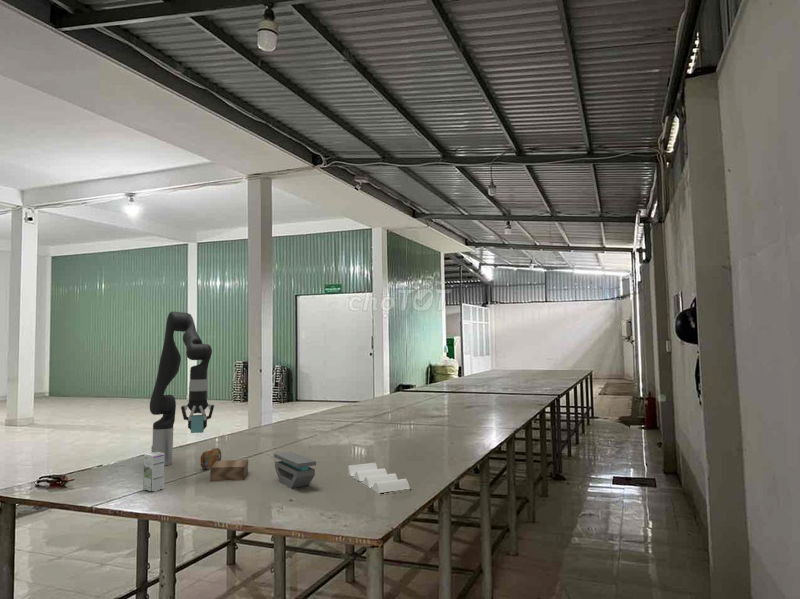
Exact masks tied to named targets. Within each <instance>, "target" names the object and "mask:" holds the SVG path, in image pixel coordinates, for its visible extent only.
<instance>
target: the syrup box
mask: <svg viewBox="0 0 800 599" xmlns="http://www.w3.org/2000/svg"><path fill="white" fill-rule="evenodd" d="M160 489H162V490H164V489H165V466H164V453H160V452H146V453H144V454H143V491H145V490H148V491H147V492H149V491H155V492H157V491H156V490H159V491H161V490H160Z"/></svg>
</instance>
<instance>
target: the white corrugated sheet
mask: <svg viewBox="0 0 800 599" xmlns="http://www.w3.org/2000/svg"><path fill="white" fill-rule="evenodd" d="M347 468H348V470H347V475H350V476H354V477H353V478H355V479H357V480H359V481H363V482H362V483H363V484H365V485H367V486H368V487H369V488H371V487H372V489H373V490H374V491H376V492H377V493H376V492H375V493H376V494H378V493H379V494H384V493H389V492H394V491H400V490H404V489H410V490H411V488H410V485H409V482H408V480H407V478H402V479H399V478H398V476H397V474H396V473H395V472H394V473H387V470H386V468H385V467H384V468H378V466H377V462H369V463H361V464H360V463H359V464H350V465H348V466H347ZM368 487H367V488H368ZM369 488H368V489H369ZM373 490H372V491H373ZM374 491H373V492H374ZM379 494H378V495H379Z"/></svg>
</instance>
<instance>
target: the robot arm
mask: <svg viewBox="0 0 800 599" xmlns="http://www.w3.org/2000/svg"><path fill="white" fill-rule="evenodd" d="M175 332H183V335H182V342H183V343H184V345H185V347H186V348H185V349H186V351H185V352H186V357H187V359H188V360H190V361H201V362H200V363H199V364H196V365H192V366H191V367H190V370H189V371H190V372H189V383H188V386H189V387H188V403H187V404H185V405H181V407H180V409H181V413H182V417H183V420H184V421H187V428H188V429H189V431H191V416H193V415H194V414H201V415H202V416H204V421H203V429H204V430H206V428H207V426H208V420H210V419H212V415H213V413H214V408H215V404H210V403H208V369H209V363H210V360H211V357H212V354H213V349H212V346H211V345H210V344H207V343H203V341H202V339H201V337H200V336H199V334H198V332H197V328H196V324H195V320H194V318H193V316H192V314H191V313H188V312H182V311H181V312H180V311H170V312H169V313H168V315H167V319H166V325H165V333H164V339H163V346H162V350H161V355H160V358H159V364H158V369H157V370H158V371H157V376H156V380H155V384H154V388H153V390H152V393H151V396H150V400H149V411H150V414H151V415H153V416H158V415H159V416H160V415H162V416H161V417H160V418H159V419H158V420H156V421H155V422H153V424H152V441H151V442H152V444H151V452H160V453H164V467H166V466H169V465H172V464H173V459H174V458H173V457H174V456H173V455H174V454H173V453H174V424H175V421H176V411H177V410H176V409H177V408H176V407H177V402H176V398H175V396H174V395H172V394H165V392H166V389H167V388H168V386H169V385H170V383H171V382H172V381H173V380H174V379H175V378H176V376H177V374H178V373H179V371H180V366H181V362H182V357H181V353H180V351H179V349H178V347H177V345H176V341H175V338H174V336H175V335H174V334H175ZM187 408H188V409H189V410H190V413H189V416H187ZM207 408H208V410H209V413H208V415H207V414H206V411H205V410H206V409H207Z"/></svg>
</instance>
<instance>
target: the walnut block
mask: <svg viewBox="0 0 800 599" xmlns="http://www.w3.org/2000/svg"><path fill="white" fill-rule="evenodd" d="M209 470H210V474H209V475H210V478H209V481H210V482H223V481H222V480H232V481H245V479H246V477H247V476H246V475H248V474H247V473H249V459H235V460H233V459H232V460H221V461H216V462H215V463H214V464H213V465H212V467H211V468H210V469H209Z"/></svg>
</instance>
